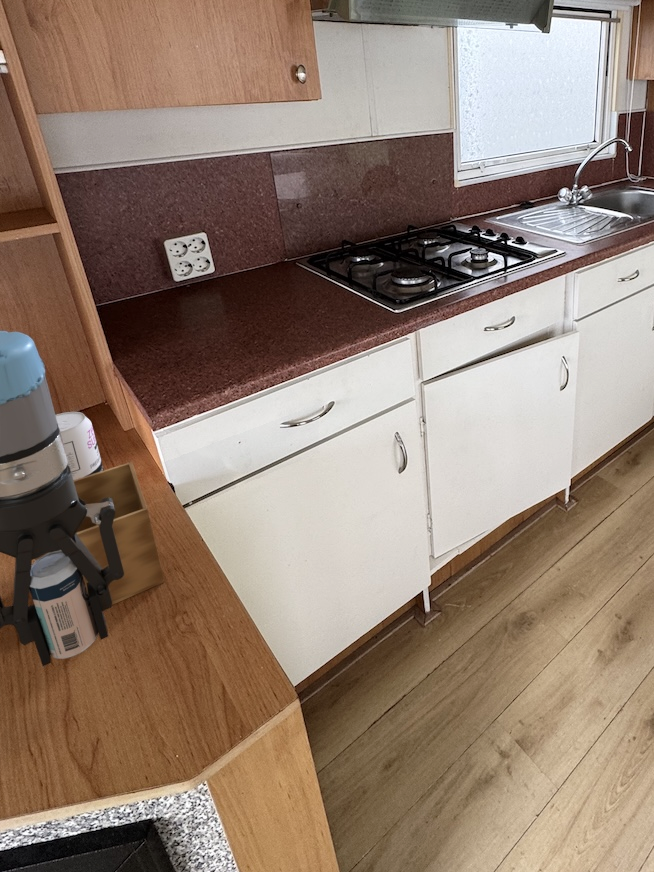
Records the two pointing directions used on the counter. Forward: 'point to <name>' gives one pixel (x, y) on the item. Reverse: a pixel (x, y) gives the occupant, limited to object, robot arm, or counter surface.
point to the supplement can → (79, 444)
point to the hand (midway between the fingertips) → (75, 642)
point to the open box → (121, 530)
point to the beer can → (62, 605)
